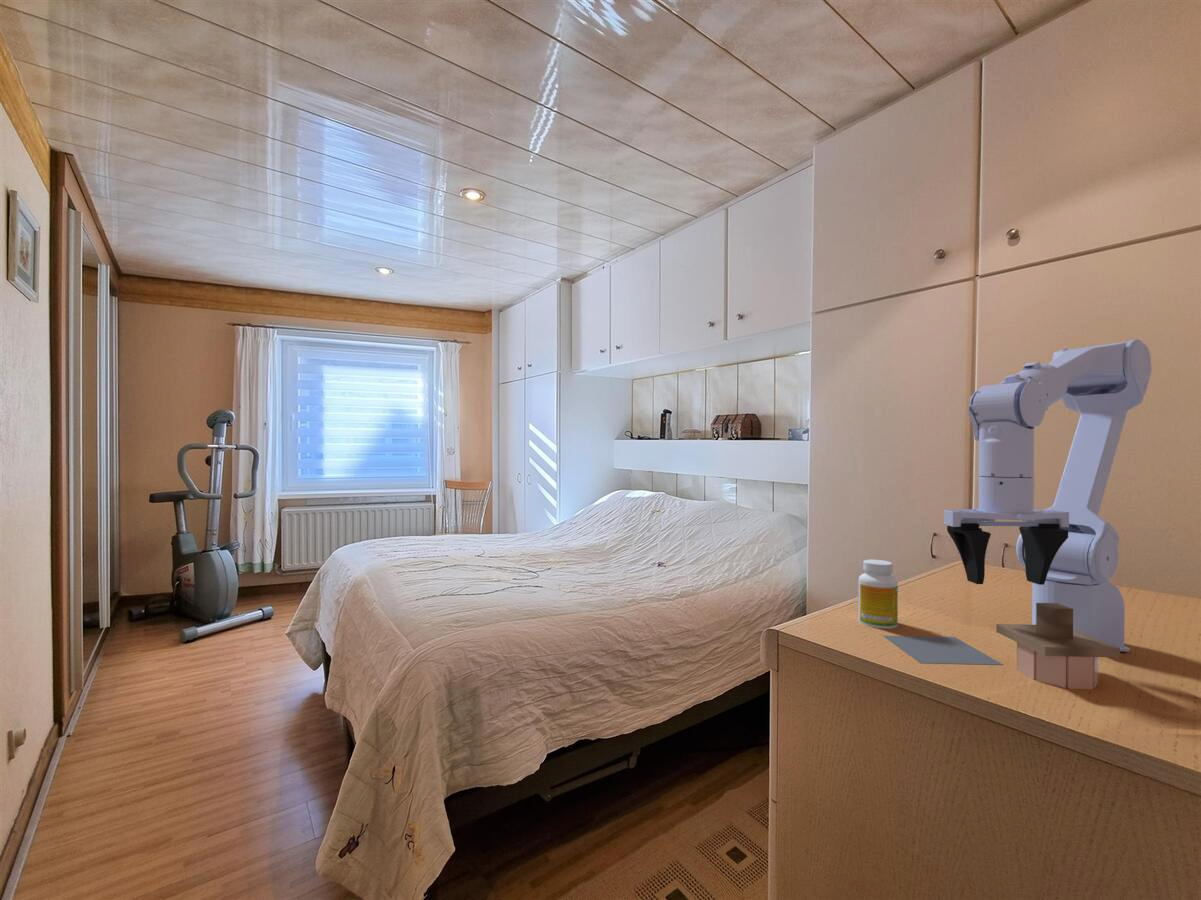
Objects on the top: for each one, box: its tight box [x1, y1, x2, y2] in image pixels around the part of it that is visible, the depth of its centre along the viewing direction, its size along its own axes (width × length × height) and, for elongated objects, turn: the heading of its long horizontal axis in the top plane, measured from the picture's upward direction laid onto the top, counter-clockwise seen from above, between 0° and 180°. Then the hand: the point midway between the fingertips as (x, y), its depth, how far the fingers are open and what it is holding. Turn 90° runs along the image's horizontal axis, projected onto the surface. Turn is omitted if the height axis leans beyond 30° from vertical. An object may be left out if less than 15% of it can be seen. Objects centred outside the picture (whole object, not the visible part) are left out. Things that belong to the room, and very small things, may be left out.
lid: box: [995, 603, 1121, 658], centre depth 65 cm, size 8×8×4 cm
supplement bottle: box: [857, 559, 899, 629], centre depth 84 cm, size 5×5×10 cm
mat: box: [883, 635, 1004, 666], centre depth 73 cm, size 10×10×1 cm
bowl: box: [1016, 642, 1099, 690], centre depth 64 cm, size 7×7×4 cm
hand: (1005, 582), depth 70 cm, fingers open, 7 cm apart
